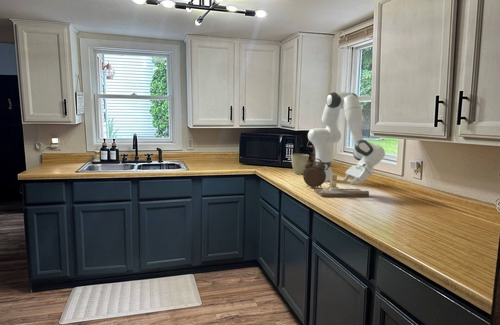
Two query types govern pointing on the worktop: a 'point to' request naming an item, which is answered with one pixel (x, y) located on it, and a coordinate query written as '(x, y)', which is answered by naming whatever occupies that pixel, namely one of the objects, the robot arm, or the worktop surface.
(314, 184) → the alarm clock
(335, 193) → the walnut board
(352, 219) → the worktop surface
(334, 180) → the stacked beige blocks
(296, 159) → the plant pot
